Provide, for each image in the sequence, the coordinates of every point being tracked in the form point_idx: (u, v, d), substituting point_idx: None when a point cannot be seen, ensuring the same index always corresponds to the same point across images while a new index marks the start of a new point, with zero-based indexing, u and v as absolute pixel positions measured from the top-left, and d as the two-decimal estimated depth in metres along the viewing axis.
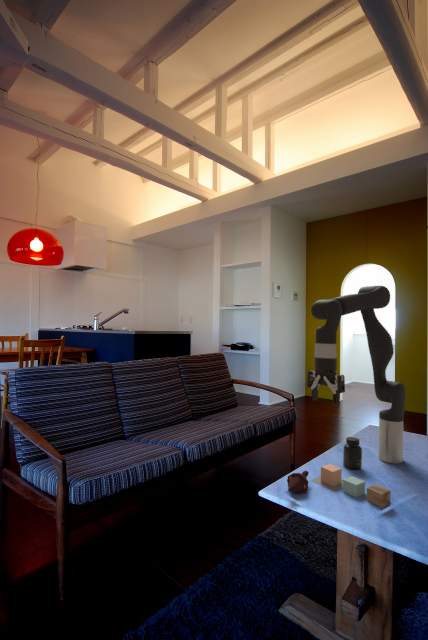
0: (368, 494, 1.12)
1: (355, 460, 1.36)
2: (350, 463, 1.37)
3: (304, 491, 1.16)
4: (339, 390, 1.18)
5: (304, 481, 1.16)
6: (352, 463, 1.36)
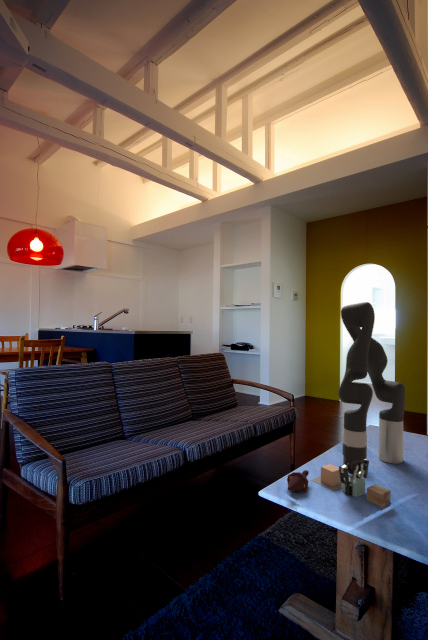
0: (368, 494, 1.12)
1: None
2: None
3: (304, 490, 1.17)
4: (366, 475, 1.20)
5: (304, 480, 1.17)
6: None
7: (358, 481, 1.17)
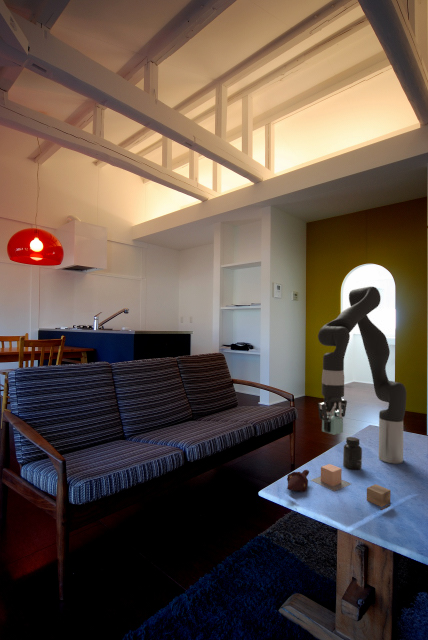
0: (368, 494, 1.12)
1: (355, 460, 1.36)
2: (350, 463, 1.37)
3: (304, 490, 1.17)
4: (344, 414, 1.27)
5: (304, 480, 1.17)
6: (352, 463, 1.36)
7: (336, 418, 1.24)
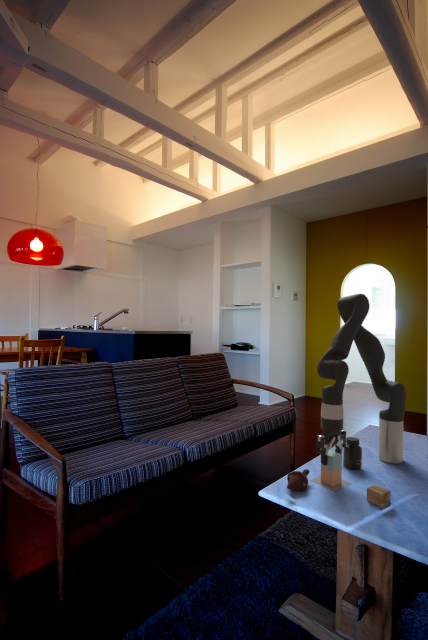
0: (368, 494, 1.12)
1: (355, 460, 1.36)
2: (350, 463, 1.37)
3: (303, 489, 1.17)
4: (345, 445, 1.28)
5: (303, 479, 1.18)
6: (352, 463, 1.36)
7: (335, 454, 1.24)
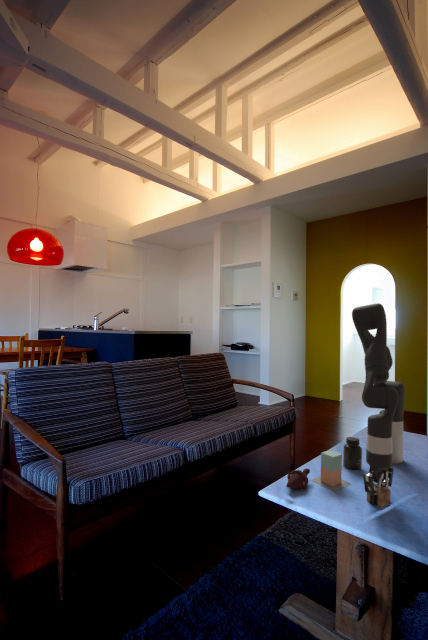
0: (368, 494, 1.12)
1: (355, 460, 1.36)
2: (350, 463, 1.37)
3: (303, 488, 1.18)
4: (391, 483, 1.14)
5: (303, 478, 1.19)
6: (352, 463, 1.36)
7: (335, 454, 1.24)
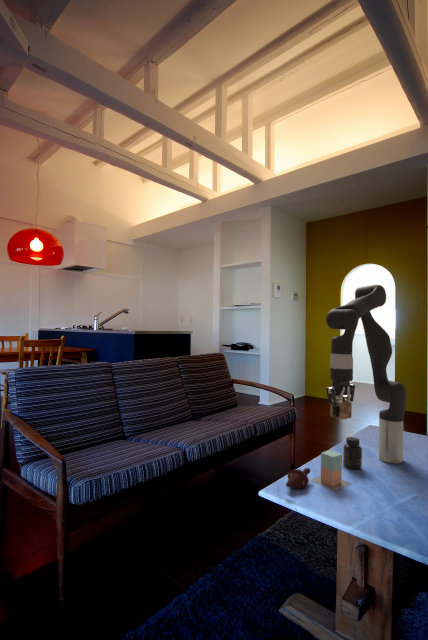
0: (331, 407, 1.23)
1: (355, 460, 1.36)
2: (350, 463, 1.37)
3: (303, 487, 1.19)
4: (352, 399, 1.25)
5: (303, 478, 1.19)
6: (352, 463, 1.36)
7: (335, 454, 1.24)
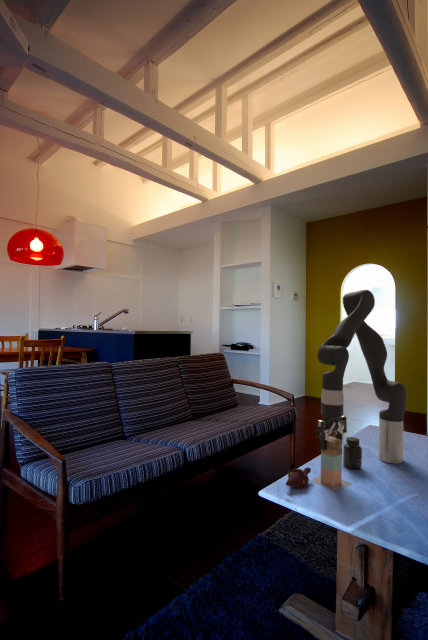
0: None
1: (355, 460, 1.36)
2: (350, 463, 1.37)
3: (303, 486, 1.19)
4: (346, 430, 1.28)
5: (303, 477, 1.20)
6: (352, 463, 1.36)
7: None
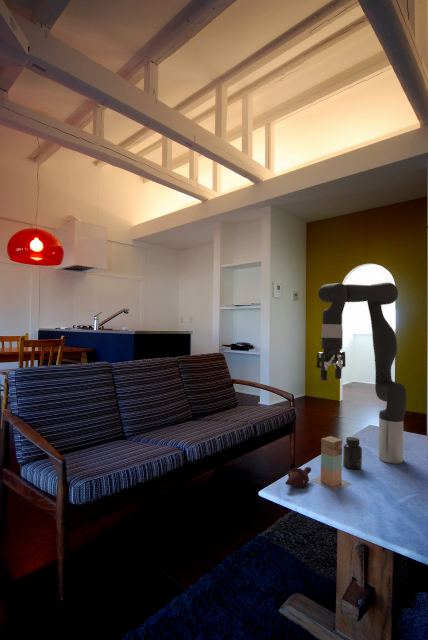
0: (322, 444, 1.25)
1: (355, 460, 1.36)
2: (350, 463, 1.37)
3: (303, 486, 1.20)
4: (344, 364, 1.36)
5: (303, 476, 1.20)
6: (352, 463, 1.36)
7: None
